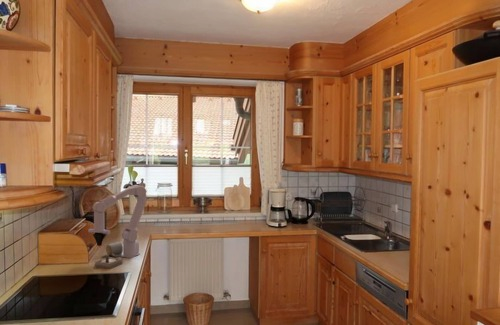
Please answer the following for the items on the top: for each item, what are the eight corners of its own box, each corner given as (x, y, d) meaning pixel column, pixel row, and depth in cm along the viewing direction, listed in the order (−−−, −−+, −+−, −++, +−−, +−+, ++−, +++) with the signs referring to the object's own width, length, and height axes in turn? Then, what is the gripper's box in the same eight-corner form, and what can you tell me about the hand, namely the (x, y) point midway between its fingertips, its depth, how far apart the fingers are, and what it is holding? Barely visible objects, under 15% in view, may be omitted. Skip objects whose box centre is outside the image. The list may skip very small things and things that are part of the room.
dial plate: (106, 261, 222) (106, 256, 222) (122, 263, 218) (122, 258, 218) (94, 266, 212) (94, 261, 212) (110, 268, 209) (110, 263, 209)
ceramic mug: (105, 254, 237) (105, 242, 236) (117, 252, 242) (117, 240, 242) (112, 258, 229) (112, 246, 229) (125, 256, 235) (125, 243, 235)
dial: (103, 260, 219) (103, 252, 219) (117, 260, 220) (117, 251, 220) (99, 264, 211) (99, 255, 211) (114, 264, 212) (114, 255, 212)
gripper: (84, 222, 221) (84, 245, 221) (104, 224, 216) (104, 248, 216) (93, 220, 227) (93, 243, 228) (112, 222, 222) (113, 245, 223)
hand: (99, 245), depth 222 cm, fingers closed
